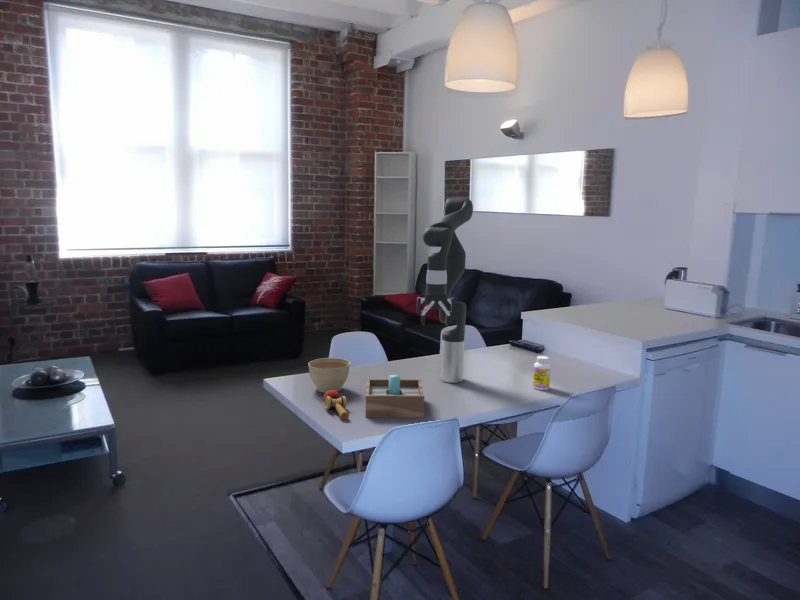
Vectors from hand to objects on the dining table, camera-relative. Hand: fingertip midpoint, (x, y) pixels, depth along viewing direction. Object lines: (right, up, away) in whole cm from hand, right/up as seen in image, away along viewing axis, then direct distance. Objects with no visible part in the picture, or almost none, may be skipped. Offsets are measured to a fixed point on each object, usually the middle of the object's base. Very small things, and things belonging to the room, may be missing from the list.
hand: (435, 325), depth 222 cm
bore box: (-15, -29, -7) cm, 34 cm away
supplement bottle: (+44, -26, +20) cm, 55 cm away
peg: (-15, -29, -5) cm, 33 cm away
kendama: (-35, -30, -12) cm, 48 cm away
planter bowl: (-41, -26, +12) cm, 50 cm away
